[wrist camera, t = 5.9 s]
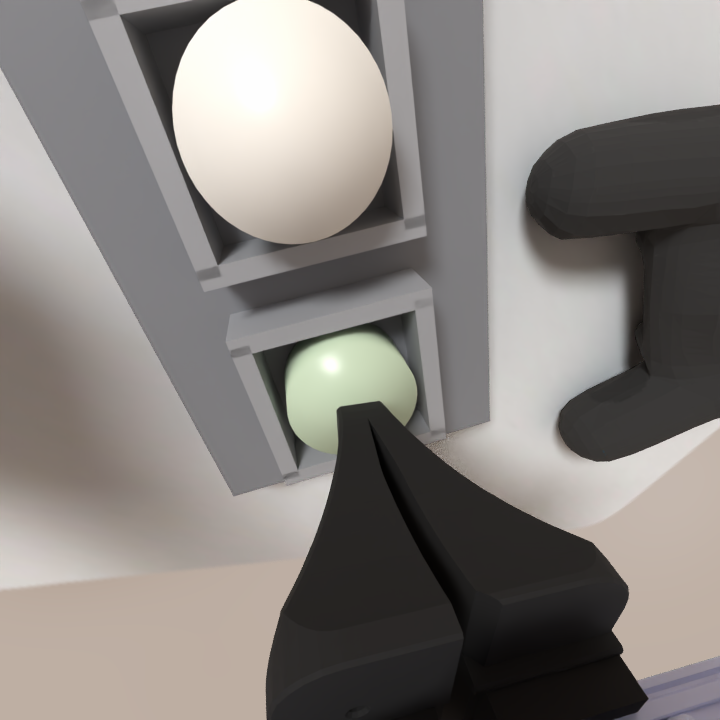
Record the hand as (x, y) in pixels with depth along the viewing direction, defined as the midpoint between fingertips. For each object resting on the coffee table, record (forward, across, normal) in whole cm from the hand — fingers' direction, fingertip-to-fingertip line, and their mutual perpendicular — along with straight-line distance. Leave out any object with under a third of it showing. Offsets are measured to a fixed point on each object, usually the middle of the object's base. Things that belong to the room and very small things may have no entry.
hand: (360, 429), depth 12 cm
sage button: (+3, 0, 0) cm, 3 cm away
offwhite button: (+2, +1, -8) cm, 8 cm away
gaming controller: (+7, -14, -1) cm, 16 cm away
